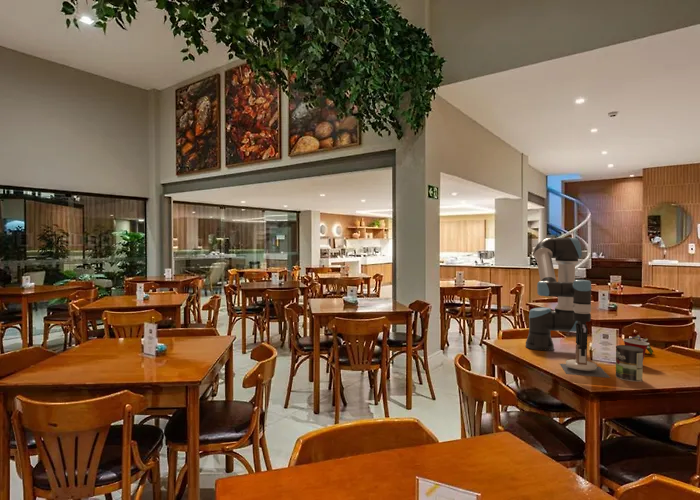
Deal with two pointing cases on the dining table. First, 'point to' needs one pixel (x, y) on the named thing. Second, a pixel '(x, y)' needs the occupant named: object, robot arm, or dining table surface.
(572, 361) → the lid
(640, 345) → the plastic cup
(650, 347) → the passion flower
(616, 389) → the dining table surface
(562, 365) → the mat
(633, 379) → the coffee can
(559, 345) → the dining table surface
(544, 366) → the dining table surface
